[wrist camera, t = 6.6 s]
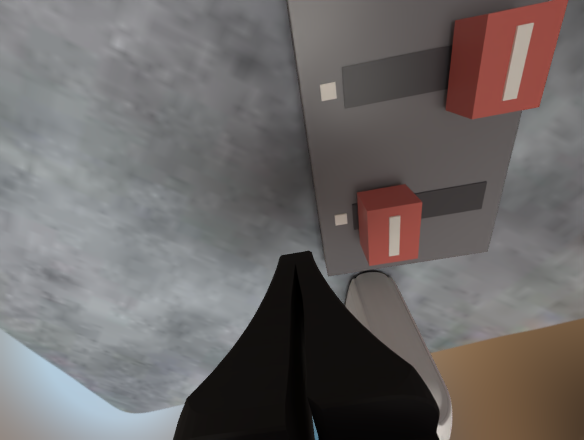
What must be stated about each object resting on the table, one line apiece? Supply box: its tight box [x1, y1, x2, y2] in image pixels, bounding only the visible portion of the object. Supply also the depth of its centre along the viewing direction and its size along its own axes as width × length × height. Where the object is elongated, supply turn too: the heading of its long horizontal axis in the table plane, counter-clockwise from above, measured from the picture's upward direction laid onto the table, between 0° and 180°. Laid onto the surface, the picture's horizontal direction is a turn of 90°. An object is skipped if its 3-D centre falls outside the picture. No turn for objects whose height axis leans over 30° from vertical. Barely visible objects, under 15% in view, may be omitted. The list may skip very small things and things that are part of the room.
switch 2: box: [446, 0, 568, 119], centre depth 13 cm, size 3×4×2 cm
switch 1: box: [357, 184, 422, 266], centre depth 17 cm, size 3×4×2 cm
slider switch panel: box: [286, 0, 549, 276], centre depth 15 cm, size 12×26×2 cm, turn 10°
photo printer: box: [345, 272, 452, 440], centre depth 21 cm, size 10×4×12 cm, turn 0°
